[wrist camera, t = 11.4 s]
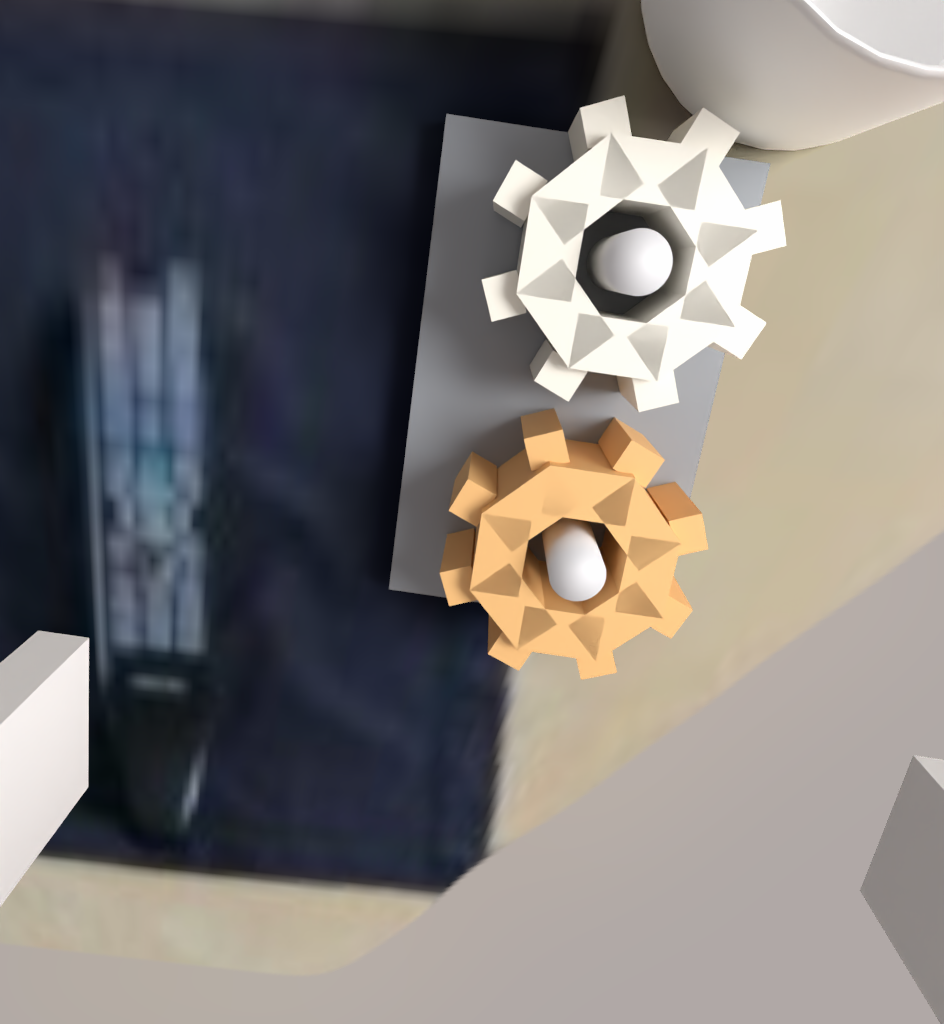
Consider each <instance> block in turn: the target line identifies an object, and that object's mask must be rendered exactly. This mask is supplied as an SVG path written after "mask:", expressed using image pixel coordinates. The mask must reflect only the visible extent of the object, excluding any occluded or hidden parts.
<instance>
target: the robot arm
mask: <svg viewBox="0 0 944 1024" xmlns="http://www.w3.org/2000/svg"><path fill="white" fill-rule="evenodd" d="M88 721H89V638H86V637H79V636H72V635H65V634H58V633H51V632H44V631H37V632H36V633H35V634H34V635H33V636H32V637H30V638H29V639H28V640H27V641H26V642H24V643H23V644H22V645H21V646H20V647H19V648H17V649H16V650H15V651H14V652H13V653H12V654H10V655H9V656H8V657H7V658H6V659H5V660H3V661H2V662H1V663H0V906H1V905H2V904H3V902H4V901H5V900H6V898H7V897H8V895H9V894H10V893H11V891H12V890H13V889H14V887H15V886H16V885H17V883H18V882H19V880H20V879H21V878H22V876H23V875H24V874H25V872H26V871H27V870H28V868H29V867H30V865H31V864H32V863H33V861H34V860H35V859H36V857H37V856H38V855H39V853H40V852H41V851H42V849H43V848H44V846H45V845H46V844H47V842H48V841H49V840H50V838H51V837H52V836H53V834H54V833H55V831H56V830H57V829H58V827H59V826H60V825H61V823H62V822H63V821H64V819H65V818H66V816H67V815H68V814H69V812H70V811H71V810H72V808H73V807H74V806H75V804H76V803H77V802H78V800H79V799H80V797H81V796H82V795H83V793H84V792H85V791H86V789H87V788H88ZM860 891H861V893H862V895H863V896H864V898H865V900H866V901H867V903H868V904H869V906H870V908H871V909H872V911H873V913H874V914H875V916H876V918H877V919H878V921H879V923H880V924H881V926H882V928H883V929H884V930H885V933H886V934H887V936H888V937H889V939H890V941H891V942H892V944H893V946H894V947H895V949H896V951H897V952H898V954H899V956H900V957H901V959H902V960H903V962H904V964H905V966H906V967H907V969H908V971H909V972H910V974H911V975H912V977H913V979H914V981H915V982H916V984H917V986H918V987H919V989H920V990H921V992H922V994H923V995H924V997H925V999H926V1000H927V1002H928V1004H929V1005H930V1007H931V1008H932V1010H933V1012H934V1014H935V1015H936V1017H937V1019H938V1020H939V1022H940V1023H941V1024H944V760H942V759H935V758H929V757H922V756H913V758H912V760H911V763H910V765H909V768H908V771H907V773H906V775H905V778H904V781H903V783H902V786H901V788H900V791H899V793H898V796H897V798H896V801H895V803H894V806H893V808H892V811H891V813H890V816H889V819H888V821H887V824H886V826H885V829H884V831H883V834H882V836H881V839H880V841H879V844H878V846H877V849H876V852H875V854H874V857H873V859H872V862H871V864H870V867H869V869H868V872H867V874H866V877H865V880H864V882H863V885H862V887H861V890H860Z"/></svg>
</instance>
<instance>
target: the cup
mask: <svg viewBox="0 0 944 1024" xmlns="http://www.w3.org/2000/svg"><path fill="white" fill-rule="evenodd" d="M641 10H642V15H643V20H644V25H645V30H646V35H647V40H648V45H649V47H650V50H651V52H652V54H653V57H654V59H655V62H656V64H657V66H658V69H659V71H660V74H661V76H662V78H663V79H664V81H665V82H666V83H667V85H668V86H669V88H670V89H671V91H672V92H673V94H674V95H675V96H676V98H677V99H678V101H679V102H680V104H681V105H682V106H683V107H684V108H686V109H687V110H688V111H689V112H690V113H691V114H692V115H694V114H695V113H697V112H698V111H699V110H700V109H702V108H705V109H706V110H708V111H709V112H711V113H712V114H714V115H715V116H717V117H718V118H720V119H721V120H722V121H724V122H725V123H727V124H728V125H730V126H731V127H733V128H734V129H736V130H737V131H739V132H740V134H739V135H738V137H737V138H736V140H735V142H737V143H741V144H744V145H748V146H752V147H756V148H759V149H763V150H792V151H796V150H802V149H807V148H812V147H817V146H822V145H827V144H831V143H835V142H838V141H841V140H844V139H846V138H849V137H852V136H854V135H857V134H860V133H862V132H865V131H868V130H870V129H873V128H876V127H878V126H881V125H884V124H886V123H889V122H892V121H894V120H897V119H900V118H902V117H905V116H908V115H910V114H913V113H916V112H918V111H921V110H924V109H926V108H929V107H932V106H934V105H937V104H940V103H942V102H944V0H641Z"/></svg>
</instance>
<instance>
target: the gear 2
mask: <svg viewBox="0 0 944 1024" xmlns="http://www.w3.org/2000/svg"><path fill="white" fill-rule="evenodd" d="M520 417H521V423H522V430H523V437H524V442H525V446H526V448H525V449H524V450H522V451H521V452H519V453H518V454H517V455H515V456H514V457H512V458H511V459H510V460H508V461H507V462H505V463H504V464H503V465H501V466H500V467H498V468H497V466H496V465H494V464H493V463H491V462H489V461H488V460H486V459H484V458H483V457H481V456H479V455H477V454H476V453H474V452H471V454H470V456H469V457H468V459H467V460H466V462H465V464H464V465H463V467H462V469H461V470H460V472H459V474H458V475H457V477H456V479H455V482H454V487H453V491H452V496H451V501H450V506H449V511H450V512H452V513H453V514H455V515H457V516H459V517H460V518H462V519H464V520H466V521H467V522H469V523H471V524H472V525H474V526H476V532H475V529H474V528H472V529H468V530H464V531H459V532H455V533H451V534H447V538H446V543H445V548H444V553H443V558H442V563H441V569H440V576H441V579H442V583H443V586H444V590H445V593H446V597H447V600H448V604H449V606H453V605H457V604H462V603H466V602H471V601H475V600H478V601H479V602H480V604H481V605H482V606H483V607H484V609H485V610H486V611H487V612H488V614H489V628H488V654H489V655H491V656H493V657H495V658H497V659H498V660H500V661H502V662H504V663H506V664H507V665H509V666H511V667H513V668H515V669H517V670H518V671H519V670H520V668H521V667H522V665H523V664H524V662H525V661H526V659H527V658H528V657H529V655H530V654H531V652H537V653H544V654H551V655H558V656H565V657H572V658H576V660H577V664H578V668H579V672H580V677H581V680H583V679H588V678H592V677H597V676H602V675H607V674H612V673H617V671H616V666H615V662H614V657H613V653H612V650H614V649H616V648H617V647H619V646H620V645H622V644H623V643H625V642H627V641H628V640H630V639H631V638H633V637H635V636H636V635H638V634H639V633H641V632H643V631H644V630H646V629H647V628H649V627H652V628H653V629H655V630H657V631H659V632H660V633H662V634H664V635H666V636H667V637H669V638H672V637H673V636H674V634H675V633H676V632H677V630H678V629H679V628H680V626H681V625H682V624H683V622H684V621H685V620H686V618H687V617H688V616H689V614H690V613H691V612H692V610H693V609H692V608H691V606H690V604H689V602H688V601H687V599H686V597H685V595H684V593H683V592H682V590H681V588H680V586H679V585H678V583H677V581H676V579H675V578H674V576H673V575H674V571H675V567H676V563H677V559H678V556H679V555H684V554H688V553H693V552H697V551H702V550H706V549H708V545H707V539H706V534H705V528H704V522H703V516H702V513H701V512H700V511H699V509H698V508H697V507H696V506H695V505H694V503H693V502H692V501H691V500H690V498H689V497H688V496H687V495H686V494H685V492H684V491H683V490H682V489H681V488H680V486H679V485H678V484H677V483H676V482H672V483H667V484H663V485H659V486H654V487H650V488H647V492H648V493H647V492H646V490H645V489H644V487H645V488H646V487H647V485H648V484H649V482H650V481H651V479H652V478H653V477H654V475H655V474H656V472H657V471H658V469H659V468H660V466H661V465H662V464H663V462H664V461H665V460H664V458H663V457H662V456H661V455H660V454H659V453H658V451H657V450H656V449H655V448H654V447H653V446H652V445H651V443H650V442H649V441H648V440H647V439H646V438H645V436H644V435H643V434H641V433H639V432H638V431H636V430H635V429H633V428H631V427H630V426H628V425H626V424H625V423H623V422H621V421H620V420H618V419H617V418H615V417H614V418H613V420H612V421H611V423H610V424H609V426H608V427H607V429H606V430H605V432H604V433H603V435H602V436H601V438H600V439H599V441H598V443H599V444H594V443H587V442H581V441H574V440H567V439H565V437H564V433H563V429H562V426H561V424H560V421H559V419H558V416H557V414H556V411H555V409H554V408H552V409H548V410H544V411H540V412H536V413H532V414H528V415H524V416H520ZM562 517H564V518H571V519H578V520H585V521H591V522H598V523H604V524H605V525H606V528H605V533H604V537H603V542H602V546H601V547H600V548H599V551H600V553H601V556H602V559H603V562H604V565H605V568H606V580H605V583H604V586H603V587H602V589H601V590H600V591H599V592H598V593H597V594H596V595H595V596H593V597H592V598H590V599H587V600H584V601H570V600H567V599H564V598H562V597H561V596H559V595H558V594H557V593H556V592H555V591H554V590H553V588H552V586H551V584H550V581H549V575H548V569H547V563H546V561H539V560H538V559H537V558H536V556H535V555H534V554H533V553H532V551H531V550H530V549H529V547H528V546H527V545H528V540H530V539H531V538H533V537H534V536H536V535H537V534H539V533H540V532H542V531H543V530H545V529H546V528H547V527H549V526H550V525H552V524H553V523H555V522H556V521H558V520H559V519H561V518H562Z"/></svg>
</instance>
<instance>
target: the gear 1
mask: <svg viewBox="0 0 944 1024" xmlns="http://www.w3.org/2000/svg"><path fill="white" fill-rule="evenodd" d="M739 134H740V132H739V131H737V130H736V129H734V128H733V127H731V126H730V125H728V124H727V123H725V122H724V121H722V120H721V119H720V118H718V117H717V116H715V115H714V114H712V113H711V112H709V111H708V110H706V109H705V108H702V109H700V110H699V111H698V112H697V113H695V114H694V115H693V116H692V117H690V118H689V119H688V120H686V121H685V122H684V123H683V124H681V125H680V126H679V127H678V128H676V129H675V130H674V131H673V132H672V133H671V135H670V137H669V138H668V140H667V141H661V140H654V139H648V138H641V137H635V136H632V134H631V128H630V123H629V117H628V112H627V106H626V100H625V95H624V96H620V97H617V98H613V99H609V100H606V101H602V102H599V103H595V104H592V105H588V106H585V107H581V108H580V109H579V111H578V113H577V115H576V117H575V119H574V121H573V123H572V125H571V127H570V129H569V131H568V135H569V140H570V145H571V150H572V155H573V160H574V163H573V164H571V165H570V166H569V167H568V168H566V169H565V170H564V171H563V172H561V173H560V174H559V175H558V176H556V177H555V178H554V179H552V180H551V181H550V182H549V183H547V180H546V179H544V178H543V177H541V176H540V175H538V174H537V173H535V172H534V171H532V170H530V169H529V168H527V167H526V166H524V165H523V164H521V163H520V162H518V161H517V160H515V162H514V164H513V166H512V167H511V169H510V171H509V173H508V174H507V176H506V178H505V180H504V182H503V183H502V185H501V187H500V189H499V191H498V192H497V194H496V196H495V198H494V199H493V209H494V211H495V212H497V213H498V214H500V215H502V216H503V217H505V218H506V219H508V220H509V221H511V222H513V223H514V224H516V225H517V226H519V227H520V228H521V227H522V225H523V223H524V226H523V232H522V238H521V245H520V251H519V258H518V264H517V270H513V271H509V272H505V273H501V274H498V275H494V276H490V277H486V278H483V279H482V284H483V288H484V292H485V296H486V300H487V304H488V309H489V313H490V317H491V321H492V322H493V321H497V320H501V319H505V318H508V317H512V316H516V315H520V314H524V313H526V308H527V310H528V311H529V312H530V314H531V315H532V317H533V318H534V320H535V321H536V322H537V324H538V325H539V327H540V328H541V329H542V331H543V332H544V334H545V335H546V337H547V338H548V339H549V341H548V340H546V339H545V341H544V342H543V344H542V346H541V347H540V349H539V351H538V352H537V354H536V355H535V357H534V359H533V360H532V362H531V364H530V365H529V366H530V369H531V372H532V376H533V379H534V381H535V382H537V383H539V384H540V385H542V386H543V387H545V388H547V389H548V390H550V391H552V392H553V393H555V394H557V395H558V396H560V397H562V398H563V399H565V400H566V401H568V402H569V400H570V399H571V397H572V396H573V394H574V392H575V391H576V389H577V388H578V386H579V385H580V383H581V381H582V380H583V378H584V377H585V375H586V374H587V371H591V372H597V373H604V374H611V375H616V376H617V381H618V386H619V391H620V393H621V395H622V396H623V397H624V398H625V399H626V400H627V401H628V402H629V403H630V404H631V405H632V406H633V407H634V408H635V409H636V410H637V411H638V412H642V411H646V410H650V409H654V408H659V407H663V406H667V405H671V404H675V403H679V399H678V394H677V388H676V382H675V377H674V371H673V370H674V369H675V368H677V367H678V366H680V365H681V364H683V363H684V362H685V361H687V360H688V359H690V358H691V357H692V356H694V355H695V354H697V353H698V352H700V351H701V350H702V349H704V348H705V347H710V348H712V349H715V350H718V351H720V352H723V353H726V354H728V355H731V356H734V357H736V358H739V359H742V358H743V356H744V355H745V353H746V352H747V351H748V349H749V348H750V346H751V345H752V343H753V342H754V340H755V339H756V338H757V336H758V335H759V333H760V332H761V330H762V329H763V328H764V326H765V325H766V322H765V321H763V320H762V319H760V318H759V317H757V316H755V315H754V314H752V313H751V312H749V311H748V310H746V309H745V308H743V307H742V306H740V303H741V298H742V294H743V290H744V286H745V282H746V278H747V274H748V269H749V265H750V261H751V257H752V254H756V253H759V252H763V251H767V250H771V249H775V248H779V247H783V246H786V239H785V231H784V223H783V216H782V208H781V200H780V201H776V202H772V203H768V204H764V205H760V206H755V207H751V208H747V209H744V207H743V205H742V204H741V202H740V200H739V199H738V197H737V195H736V194H735V192H734V191H733V189H732V187H731V186H730V184H729V182H728V181H727V179H726V177H725V176H724V174H723V172H722V171H721V169H720V167H719V165H720V163H721V162H722V160H723V159H724V157H725V156H726V154H727V152H728V151H729V149H730V148H731V146H732V145H733V143H734V142H735V140H736V138H737V137H738V135H739ZM546 183H547V184H546ZM608 211H609V212H615V213H622V214H629V215H635V216H642V217H643V218H644V220H645V222H646V223H647V225H648V226H649V228H650V229H651V230H654V231H656V232H658V233H659V234H661V235H662V236H663V237H664V238H665V239H666V240H667V242H668V244H669V245H670V248H671V251H672V256H673V264H672V269H671V272H670V275H669V277H668V279H667V280H666V282H665V283H664V284H663V285H662V286H661V287H660V288H659V289H658V290H656V291H655V292H653V293H652V294H650V295H649V296H648V297H646V298H645V299H644V300H642V301H641V302H640V303H638V304H637V305H635V306H634V307H633V308H631V309H630V310H629V311H627V312H626V313H625V314H623V315H622V314H615V313H609V312H602V311H597V310H596V308H595V307H594V305H593V304H592V302H591V301H590V299H589V298H588V296H587V295H586V293H585V292H584V290H583V289H582V288H581V286H580V285H579V283H578V282H577V280H576V279H575V277H576V271H577V266H578V260H579V255H580V249H581V243H582V238H583V232H584V229H585V228H587V227H588V226H589V225H591V224H592V223H593V222H595V221H596V220H597V219H598V218H600V217H601V216H602V215H604V214H605V213H606V212H608ZM525 307H526V308H525Z"/></svg>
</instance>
